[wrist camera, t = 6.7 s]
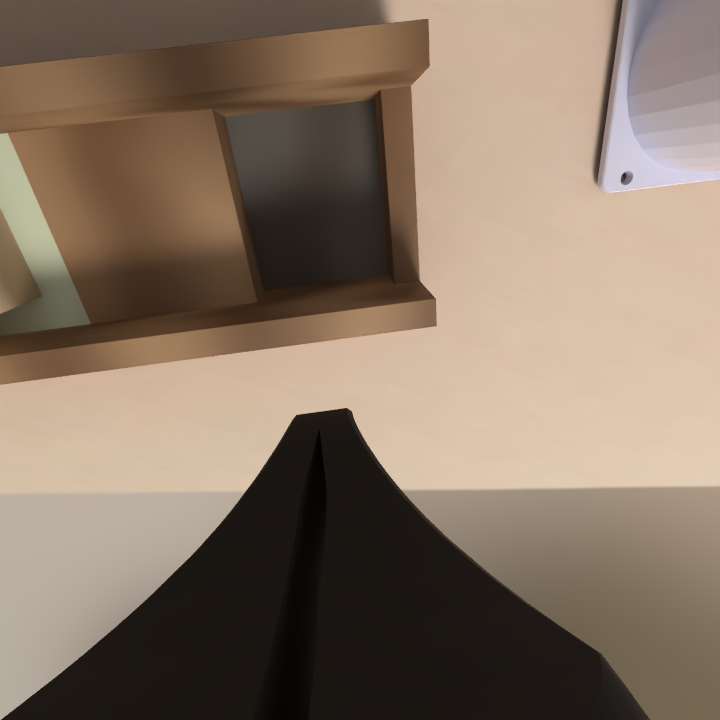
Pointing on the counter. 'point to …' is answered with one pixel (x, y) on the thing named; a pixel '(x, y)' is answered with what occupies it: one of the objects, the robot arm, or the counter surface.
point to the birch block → (14, 272)
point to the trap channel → (212, 199)
